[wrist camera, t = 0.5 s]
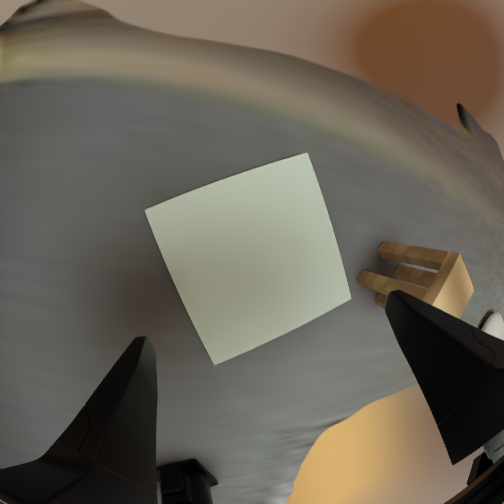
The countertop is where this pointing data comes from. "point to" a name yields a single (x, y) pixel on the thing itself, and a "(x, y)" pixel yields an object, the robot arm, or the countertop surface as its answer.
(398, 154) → the countertop surface
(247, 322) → the board
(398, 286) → the wooden footstool
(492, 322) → the flower in vase
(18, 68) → the countertop surface
